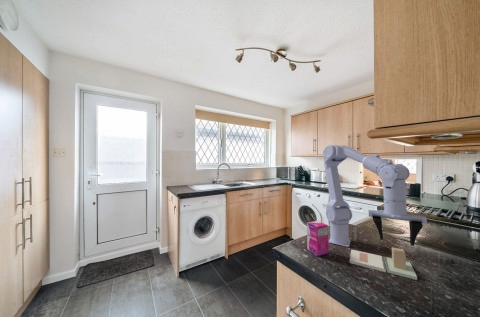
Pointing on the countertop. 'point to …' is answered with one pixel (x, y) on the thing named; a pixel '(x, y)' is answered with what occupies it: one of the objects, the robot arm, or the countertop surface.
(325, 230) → the supplement box
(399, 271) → the block on white base
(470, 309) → the countertop surface
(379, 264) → the board
